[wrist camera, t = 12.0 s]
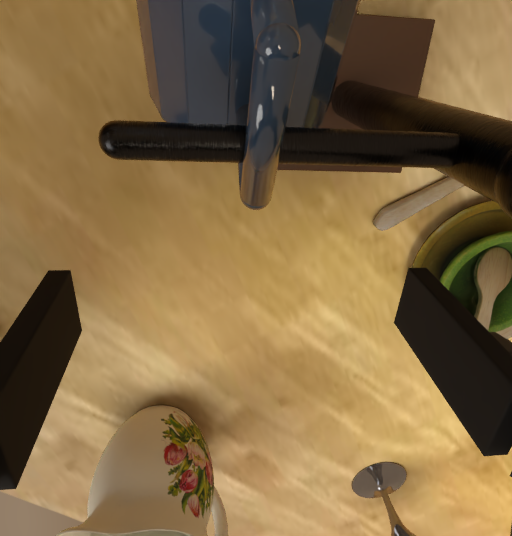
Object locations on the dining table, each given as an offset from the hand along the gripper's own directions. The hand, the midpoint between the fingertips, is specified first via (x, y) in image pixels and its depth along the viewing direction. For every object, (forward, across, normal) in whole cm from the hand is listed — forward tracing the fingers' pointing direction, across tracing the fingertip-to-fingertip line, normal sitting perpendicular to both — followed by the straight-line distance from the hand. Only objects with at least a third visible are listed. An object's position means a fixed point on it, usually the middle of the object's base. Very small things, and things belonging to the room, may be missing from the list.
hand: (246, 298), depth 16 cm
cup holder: (+17, +4, +6) cm, 19 cm away
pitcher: (+17, -6, -28) cm, 34 cm away
